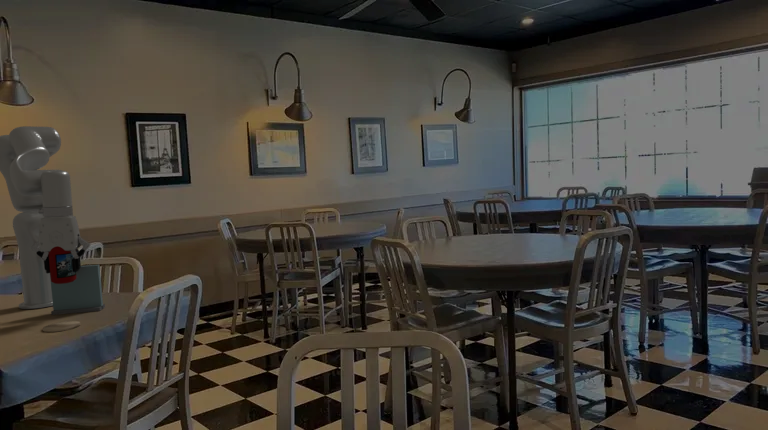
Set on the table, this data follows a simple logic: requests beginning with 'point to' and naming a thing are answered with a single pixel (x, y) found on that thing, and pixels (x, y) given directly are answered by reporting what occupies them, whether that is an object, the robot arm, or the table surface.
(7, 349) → the table surface
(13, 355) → the table surface
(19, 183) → the robot arm
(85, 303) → the screen
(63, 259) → the beverage can
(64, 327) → the coaster
